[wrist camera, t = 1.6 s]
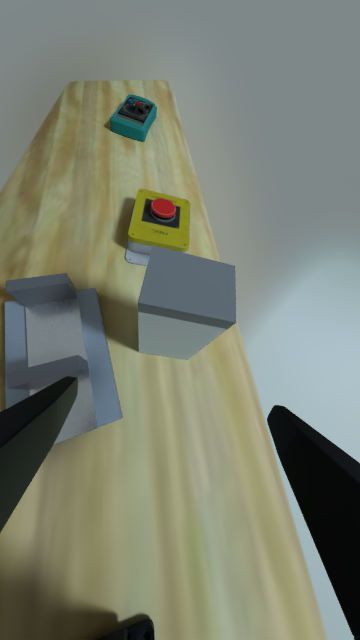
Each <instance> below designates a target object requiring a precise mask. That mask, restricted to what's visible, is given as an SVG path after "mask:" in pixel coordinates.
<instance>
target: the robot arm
mask: <svg viewBox="0 0 360 640" xmlns="http://www.w3.org/2000/svg"><path fill="white" fill-rule="evenodd" d="M77 393H78V378H77V377H72V376H66V377H64V378H62V379H60V380H58V381H56V382H55V383H53V384H51V385H49V386H47V387H45V388H44V389H42V390H40V391H38V392H36V393H34V394H33V395H31V396H29V397H27V398H25V399H23V400H22V401H20V402H18V403H16V404H14V405H12V406H11V407H9V408H7V409H5V410H3V411H1V412H0V532H1V531H2V529H3V527H4V526H5V524H6V522H7V521H8V519H9V517H10V516H11V514H12V512H13V511H14V509H15V507H16V506H17V504H18V502H19V501H20V499H21V497H22V496H23V494H24V492H25V491H26V489H27V487H28V486H29V484H30V482H31V481H32V479H33V477H34V476H35V474H36V472H37V471H38V469H39V467H40V466H41V464H42V462H43V461H44V459H45V457H46V456H47V454H48V452H49V451H50V449H51V447H52V446H53V444H54V442H55V441H56V439H57V437H58V435H59V433H60V431H61V429H62V427H63V425H64V423H65V421H66V419H67V416H68V414H69V412H70V410H71V408H72V406H73V404H74V402H75V400H76V397H77ZM267 422H268V425H269V428H270V431H271V435H272V438H273V440H274V444H275V447H276V450H277V453H278V456H279V458H280V461H281V464H282V466H283V468H284V471H285V473H286V475H287V478H288V480H289V483H290V485H291V488H292V490H293V493H294V495H295V497H296V500H297V502H298V504H299V507H300V509H301V512H302V514H303V517H304V519H305V521H306V524H307V526H308V528H309V531H310V533H311V536H312V538H313V541H314V543H315V546H316V548H317V550H318V553H319V555H320V558H321V560H322V562H323V565H324V567H325V569H326V572H327V574H328V577H329V579H330V581H331V584H332V586H333V589H334V591H335V594H336V596H337V598H338V601H339V603H340V606H341V608H342V610H343V613H344V615H345V617H346V620H347V622H348V625H349V627H350V630H351V632H352V634H353V636H354V640H360V463H359V462H357V461H356V460H355V459H353V458H352V457H351V456H349V455H348V454H347V453H345V452H344V451H343V450H341V449H340V448H339V447H337V446H336V445H335V444H333V443H332V442H331V441H329V440H328V439H327V438H325V437H324V436H323V435H321V434H320V433H319V432H317V431H316V430H315V429H313V428H312V427H311V426H309V425H308V424H307V423H305V422H304V421H303V420H302V419H300V418H299V417H298V416H296V415H295V414H293V413H292V412H290V411H289V410H288V409H287V408H286V407H284V406H279V405H275V406H274V407H273V408H272V410H271V412H270V413H269V415H268V418H267ZM147 630H149V631H150V633H149V634H148V635H145V632H146V631H147ZM97 640H154V625H153V622H152V620H151V619H146V620H144V621H141V622H139V623H136V624H134V625H132V626H129V627H127V628H125V629H124V628H123V629H121V630H118V631H116V632H114V633H111V634H109V635H106V636H104V637H102V638H99V639H97Z"/></svg>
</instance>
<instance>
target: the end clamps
mask: <svg viewBox="0 0 360 640" xmlns="http://www.w3.org/2000/svg"><path fill="white" fill-rule="evenodd" d="M6 292H7V293H9V294H10V295H11V296H12V297H14V298H15V299H16V300H18V301H19V302H20V303H21V304H23V305H24V306H25V307H27V306H33V305H39V304H45V303H51V302H57V301H63V300H69V299H75V298H77V293H76V289H75V287H74V285H73V284H72V282H71V280H70V279H69V277H68V275H67V274H66V273H64V274H56V275H48V276H40V277H32V278H24V279H16V280H9V281H6ZM86 373H89V368H88V362H87V360H85V359H84V358H82V357H81V356H79V355H75V356H71V357H67V358H63V359H59V360H55V361H52V362H48V363H44V364H40V365H36V366H32V367H28V368H24V369H20V370H17V371H13V372H9V373H7V389H22V390H31V389H35V388H38V387H41V386H45V385H48V384H52V383H55V382H56V381H58V380H60V379H62V378H64V377H66V376H72V377H76V376H79V375H83V374H86Z"/></svg>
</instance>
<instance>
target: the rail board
mask: <svg viewBox="0 0 360 640" xmlns="http://www.w3.org/2000/svg"><path fill="white" fill-rule="evenodd" d="M77 294H78V300H79V307H80V313H81V319H82V325H83V331H84V338H85V344H86V350H87V356H88V363H89V369H90V375H91V381H92V387H93V394H94V400H95V406H96V412H97V419H98V425H99V427H100V426H103V425H106V424H108V423H111V422H113V421H116V420H119V419H121V418H122V412H121V407H120V402H119V397H118V392H117V388H116V383H115V378H114V373H113V368H112V363H111V358H110V353H109V348H108V343H107V338H106V333H105V328H104V324H103V319H102V314H101V309H100V304H99V299H98V294H97V292H96V289H95V288H92V289H85V290H79V291H77ZM24 368H28V349H27V328H26V308H25V306H24V305H23V304H21V303H20V302H19V301H18V300H15V301H8V302H5V403H6V409H7V408H9V407H11V406H12V405H14V404H16V403H18V402H20V401H22V400H23V399H25V398H27V397H29V396H30V390H22V389H7V373H9V372H13V371H17V370H20V369H24Z"/></svg>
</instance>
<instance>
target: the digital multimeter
mask: <svg viewBox="0 0 360 640" xmlns="http://www.w3.org/2000/svg"><path fill="white" fill-rule="evenodd" d="M156 110H157V107H156V106H155V104H154V103H152V102H151V101H149V100H147V99H145V98H142V97H139V96H135V95H128V96H127V98H126V99H125V101H124V102H123V104H122V105H121V106H120V108H119V109H118V110H117V111H116V112H115V114H114V115H113V116H112V117H111V118H110V122H111V130H112V131H113V132H115V133H118V134H120V135H123V136H125V137H128V138H131V139H135V140H138V141H141V142H144V141H145V138H146V135H147V133H148V130H149V128H150V126H151V124H152V123H153V121H154V120H155V118H156ZM146 118H147V119H146Z"/></svg>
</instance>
